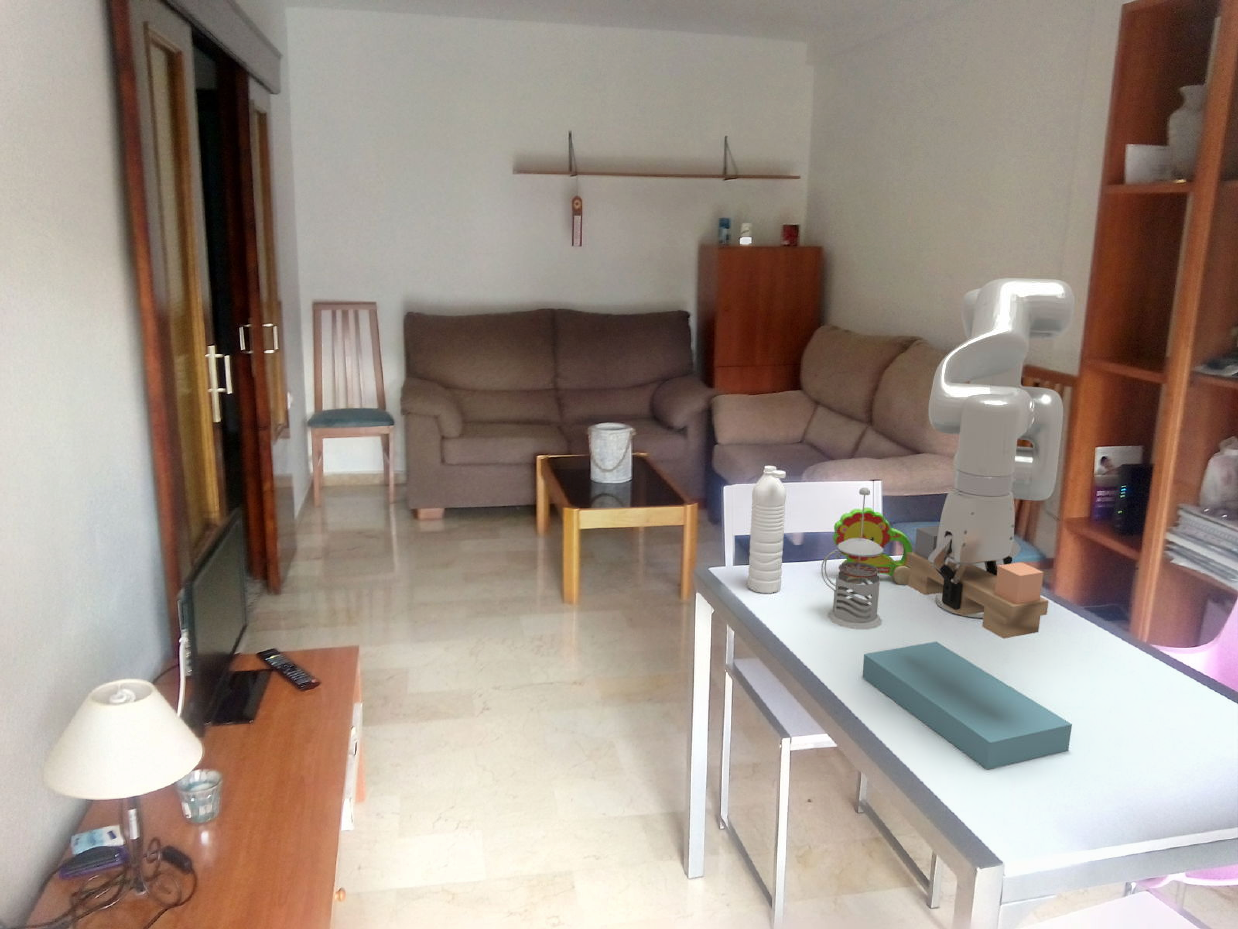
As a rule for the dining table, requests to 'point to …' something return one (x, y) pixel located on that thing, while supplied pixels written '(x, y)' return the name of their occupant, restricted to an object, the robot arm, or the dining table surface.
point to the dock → (967, 705)
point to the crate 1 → (926, 541)
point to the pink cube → (1019, 583)
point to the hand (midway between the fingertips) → (969, 602)
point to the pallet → (979, 598)
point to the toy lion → (878, 533)
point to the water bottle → (767, 532)
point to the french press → (856, 609)
